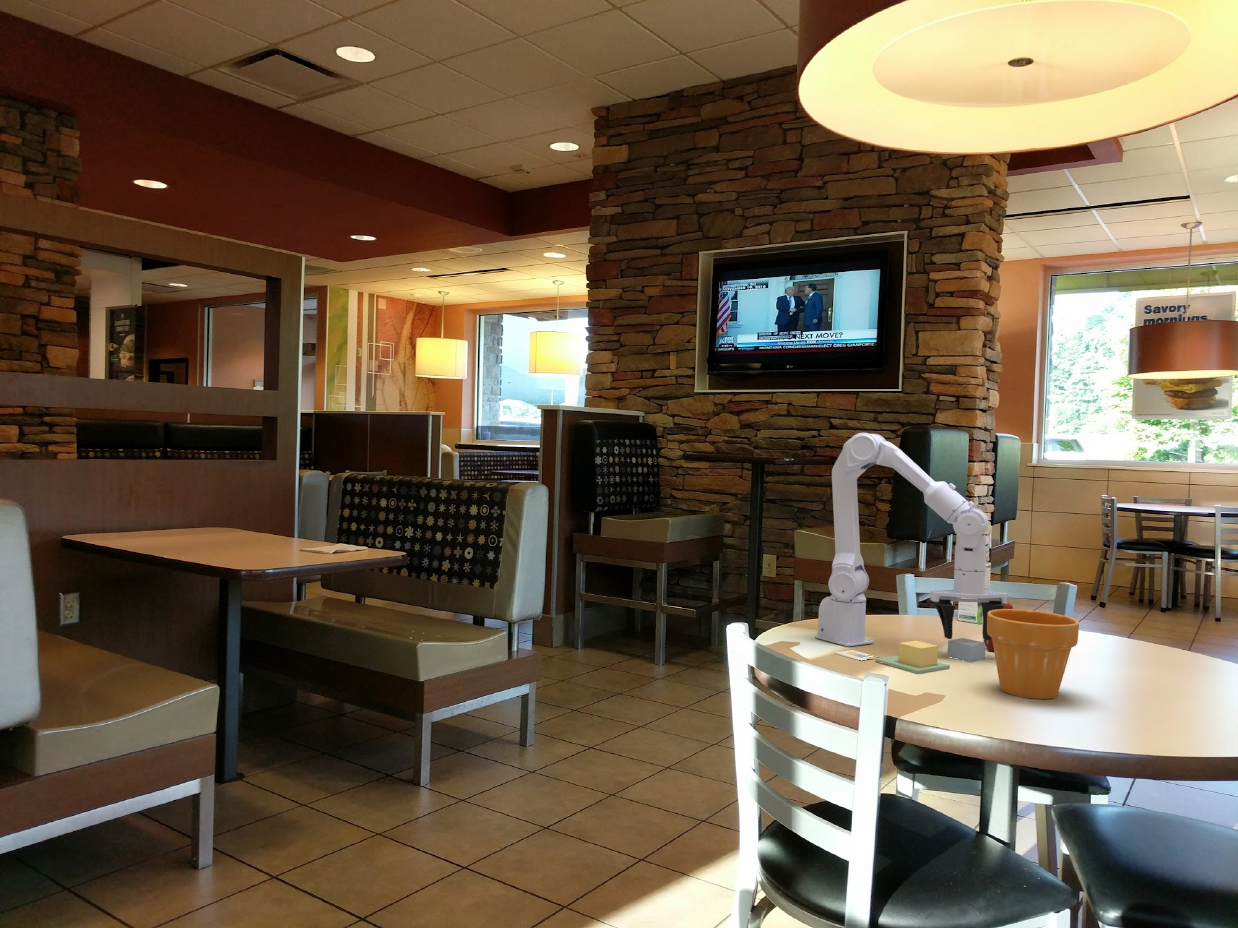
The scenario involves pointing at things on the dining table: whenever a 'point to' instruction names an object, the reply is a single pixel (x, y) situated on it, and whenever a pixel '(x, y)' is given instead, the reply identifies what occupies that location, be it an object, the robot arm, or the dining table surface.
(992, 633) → the flower pot
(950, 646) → the brick
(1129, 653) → the dining table surface
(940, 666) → the plate
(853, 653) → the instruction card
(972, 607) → the syrup box
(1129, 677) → the dining table surface
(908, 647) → the brick
